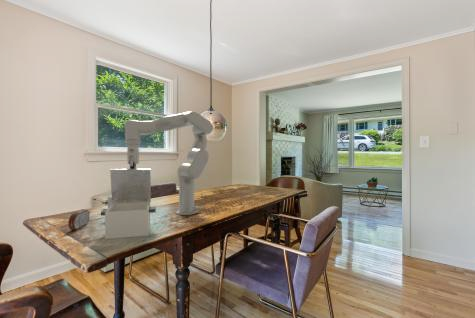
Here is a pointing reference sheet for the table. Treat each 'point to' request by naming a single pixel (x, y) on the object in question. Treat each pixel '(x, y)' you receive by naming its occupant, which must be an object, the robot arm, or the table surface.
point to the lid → (130, 185)
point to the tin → (78, 219)
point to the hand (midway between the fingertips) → (132, 177)
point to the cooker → (127, 220)
